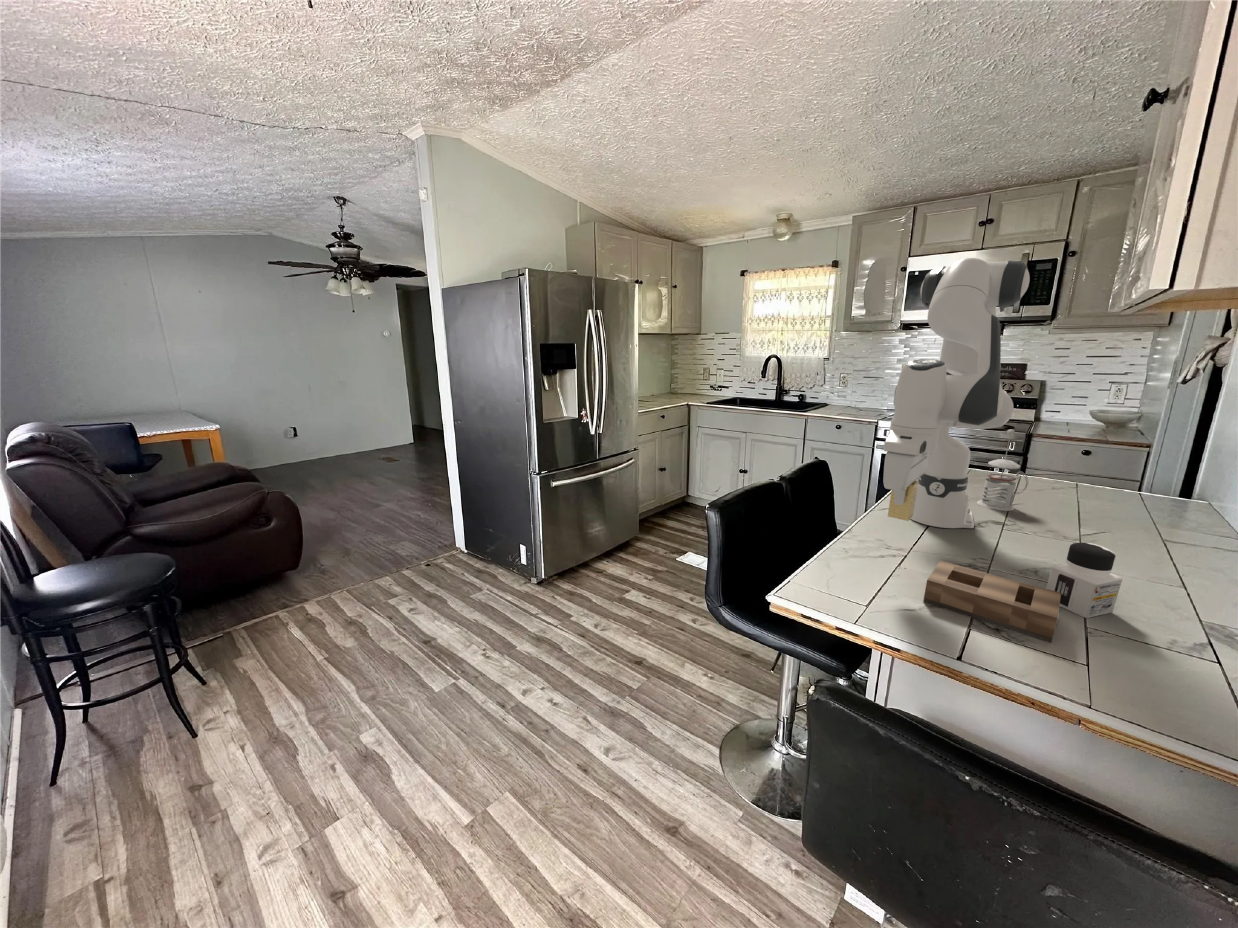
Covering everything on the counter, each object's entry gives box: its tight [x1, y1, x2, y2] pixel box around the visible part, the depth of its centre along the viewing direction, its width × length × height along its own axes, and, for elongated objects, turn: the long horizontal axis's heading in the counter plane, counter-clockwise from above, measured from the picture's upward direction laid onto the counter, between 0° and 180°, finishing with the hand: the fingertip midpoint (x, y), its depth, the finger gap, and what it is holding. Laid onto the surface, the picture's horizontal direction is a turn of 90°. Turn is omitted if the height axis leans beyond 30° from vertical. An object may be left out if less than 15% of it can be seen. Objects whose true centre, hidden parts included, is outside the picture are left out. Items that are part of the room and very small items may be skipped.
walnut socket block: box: [923, 560, 1061, 644], centre depth 97 cm, size 12×20×5 cm, turn 46°
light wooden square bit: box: [887, 480, 919, 522], centre depth 105 cm, size 4×4×8 cm
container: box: [1045, 542, 1123, 619], centre depth 97 cm, size 8×8×13 cm
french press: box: [976, 429, 1029, 512], centre depth 152 cm, size 10×12×25 cm
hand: (902, 500), depth 105 cm, fingers closed on light wooden square bit, 4 cm apart
